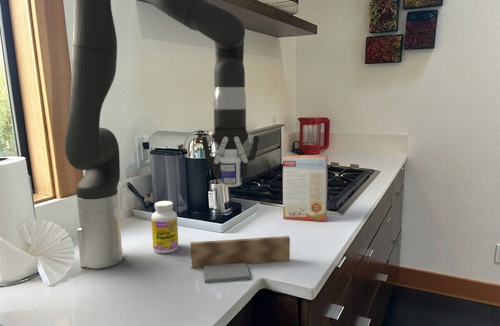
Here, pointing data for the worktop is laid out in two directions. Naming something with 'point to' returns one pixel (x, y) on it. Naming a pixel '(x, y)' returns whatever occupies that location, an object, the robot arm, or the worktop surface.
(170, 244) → the supplement bottle
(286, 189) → the cracker box
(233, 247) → the walnut screen
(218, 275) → the grey pad
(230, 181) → the pill bottle
